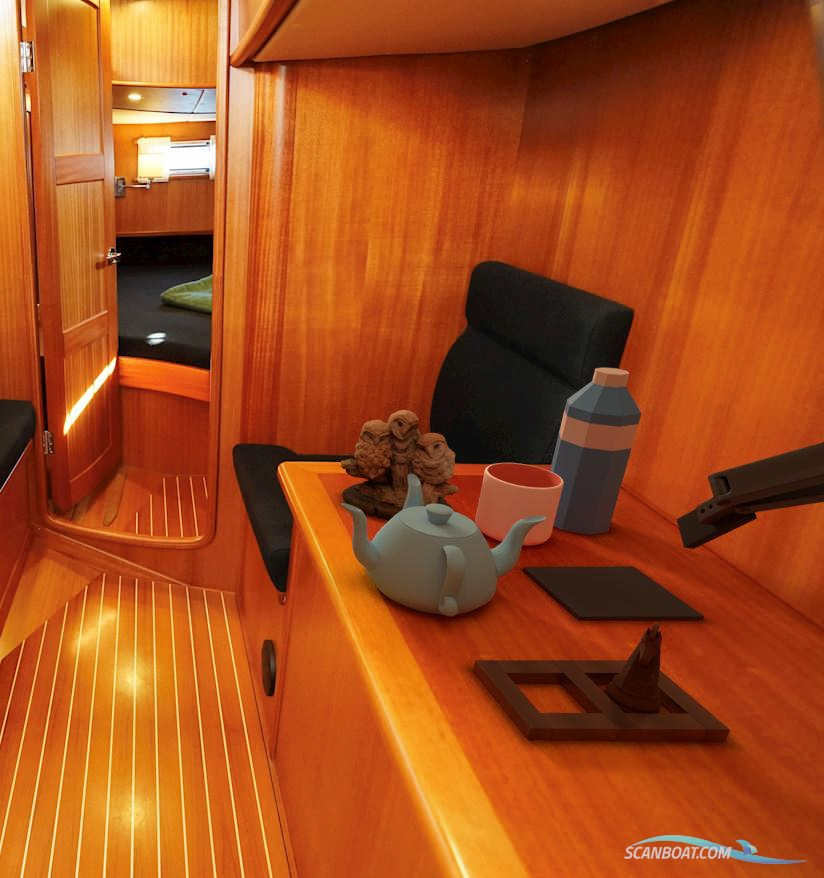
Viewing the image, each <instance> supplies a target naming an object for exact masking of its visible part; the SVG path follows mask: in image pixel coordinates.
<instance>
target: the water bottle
mask: <svg viewBox="0 0 824 878" xmlns="http://www.w3.org/2000/svg"><path fill="white" fill-rule="evenodd" d="M629 376H630V372H629V371H628V370H625V369H621V368H616V367H615V368H614V367H596V368H594V373H593V377H592V380H591V381H590V382H588V383H587V384H586V385H585V386H584V387H582V388H580V389H579V390H578V391H577V392H575V393H574V394H572V395H571V396H570V397H569V398H567V399H566V403H565V407H564V411H563V415H562V420H561V424H560V427H559V431H558V436H557V440H556V445H555V449H554V453H553V457H552V462H551V465H550V470H549V471H551V472H553V473H555V474H557V475H558V476H560V477H561V478H562V480H563V482H564V484H563V488H562V492H561V496H560V500H559V504H558V508H557V512H556V516H555V520H554V525H553V527H555V528H557V529H559V530H561V531H565V532H571V533H578V534H583V535H588V536H592V535H596V534H603V533H608V532H609V530H610V527H611V523H612V519H613V516H614V512H615V510H616V505H617V502H618V498H619V495H620V491H621V488H622V485H623V481H624V478H625V474H626V470H627V467H628V462H629V459H630V456H631V452H632V449H633V445H634V443H635V439H636V434H637V430H638V427H639V423H640V421H641V417H642V412H641V410H640V408H639V407H638V405H637V403H636V401H635V400H634V398H633V396H632V395H631V392H630V391H629V389H628V387H627V385H628V381H629Z"/></svg>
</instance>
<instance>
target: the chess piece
mask: <svg viewBox="0 0 824 878" xmlns="http://www.w3.org/2000/svg"><path fill="white" fill-rule="evenodd" d="M660 625H661V622H658V621H654V623H653V625H652V627H651V628H650V627H649V626H648V627H647V629H646V630H645V631H644V632H643V633H642V636H641V638H640V641H639V642H638V644H637V645H636V646H635V648H634V649H633V651H632V652H631V653H630V655H629V657H628V658H627V662H626V664H625V665H624V667H623V669H622V671H621V673H620V674H617V675H615V676H614V680H613V681H611V682H610V683H609V684H607V686H606V688H605V690H604V691H603V692H604V693H605V694H606V695H607V696H608V697H609V698H610V699H611V700H612V701H613V702H614V703H615V704H616V705H617V706H618V707H619V708H620V709H621V710H622V711H623V712H624V713H625V714H626V713H641V714H660V712H661V707H662V704H661V701H660V698H659V696H660V690H659V689H658V687H657V686H658V681H659V671H660V669H661V653H662V651H661V650H662V642H663V636H662V630H659V629H660V627H661V626H660Z"/></svg>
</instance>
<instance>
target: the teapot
mask: <svg viewBox="0 0 824 878" xmlns="http://www.w3.org/2000/svg"><path fill="white" fill-rule="evenodd" d="M408 486H409V487H408V495H407V499H406V502H405V504H404V507H403V510H402V511H400V512H399V513H397V514H396V515H395V516H394V517H393V518H391V519H390V520H389V519H388V521H387V522H386V523H385V524H384V525H383V526H382V527H381V528H380V529H379V530H378V531H377V533H376V534H375V535H374V536H373V538H372V540H370V539H369V537H368V519H367V516H366V515H365V514H366V513H363V511H361V510H360V509H359V508H357V507H354V506H352V505H349V504H346V503H345V502H341V503H340V505H341V506H342V508H344V509H345V510H346V511H347V512H348V513H349V514H350V516H351V519H352V525H353V526H352V536H351V547H352V551H353V555H354V557H355V559H356V560H357V561H358V563H359V564H360V565H361V566H363V567H364V568H365V571H366V574H367V576H368V577H369V579H370V580H371V582H372V583H373V585H374V586H375V587H376V589H378V590H379V591H380V593H382V594H383V595H384V596H385V597H387V598H388V599H390V600H391V601H393V602H395V603H397V604H399V605H401V606H403V607H405V608H408V609H412V610H415V611H418V612H423V613H428V614H432V615H440V616H441V615H442V616H443V615H444V616H446V617H454V616H457V615H462V614H466V613H469V612H472V611H474V610H477V609H479V608H481V607H483V606H484V605H486V604H488V602H490V601H491V600H492V598H493V597H495V594H496V592H497V586H498V579H501V578H503V577H504V576H506V575H507V574H509V573H510V572H511V571H512V570H513V569H514V568H515V567H516V565H517V564H518V561H519V559H520V556H521V553H522V549H523V546H524V545H523V542H524V539H525V537H526V535H527V534H528V532H529V531H530V530H531V529H532V528H533V527H534V526H536V525H537V524H539V523H541V522H543V521H544V520H546V519H547V518H546V517H544V516H532V517H526V518H523V519H521V520H519V521H518V522H516V523H515V524H514V525H513V526H512V528H511V529H510V531H509V532H508V534H507V536H506V537H505V539H504V540H503V542H500V543H499V544H498V545H496V546H495V547H493V548H490V546H489V543H488V542H487V540H486V538H485V536H484V533H483V532H482V531H480V529H479V528H478V526H477V525H476V522H474V521H473V520H472V519H471V518H469V517H468V516H465V515H464V514H463V513H459V512H457V511H455V510H454V509H453V508H450V507H448V506H445V505H442V504H428V505H426V506H424V503H423V495H422V488H421V483H420V480H419V479H418V477H417V476H416V475H414V474H409V475H408Z"/></svg>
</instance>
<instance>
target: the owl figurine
mask: <svg viewBox="0 0 824 878" xmlns="http://www.w3.org/2000/svg"><path fill="white" fill-rule="evenodd" d="M419 427H420V419H419V417H418V416H417V414H416V413H415V412H413V411H410V410H407V409H400V410H397V411H396V412H393V413H392V414H390V415H389V417H388V419H387V422H384V421H382V420H381V419H373V420H369V421H366V422H365V423H364V424H363V425H362V428H361V431H360V434H359V439H358V442H357V443H356V444H355V445H354V447H355V452H354V455H353V456H354V459H353V458H348V459H345V460H340V467H341V468H342V469H343V470H344V472H345V473H346V474H347V475H349V476H350V477H353V478H358V479H364V481H362V482H358V483H355V484H352V485H351V486H348V487H346V488H345V489H344V490H343V492H342V499H343V502H344V503H345V504H349V505H352V506H354V507H357V508H359V509H360V510H361V511H363V513H364V514H368V515H369V516H373V515H374V514H375V513H376V516H377V517H378V518H380V519H385V520H388V521H389V520H390V519H391V518H393V517H394V516H395V515H396V514H397V513H399V512H400V511H402V510H403V507H404V504H405V502H406V499H407V495H408V487H409V486H408V475H409V474H414V475H416V476H417V477H418V479H419V480H420V483H421V488H422V495H423V503H424V506H426V505H428V504H442V505H445V506H448V507H450V508H452V506H451V504H450V503H448V501H447V500H446V497H447V496H453V495H454V494H458V492H459V486H456V485H454V484H451V483H449V482H448V481H450V480H451V478H452V477H453V476H454V474H455V466H456V462H455V459H456V456H457V455H456V453H455V452H454V451H453V450H452V449H451V448H449V446H448V443H447V441H446V438H445V436H444V435H443V434H441V433H438V432H437V433H436V432H427V433H423V434H422V433H421V432H420V430H419V429H418V428H419ZM375 509H376V510H377V512H376V511H375ZM452 509H453V508H452Z"/></svg>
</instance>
